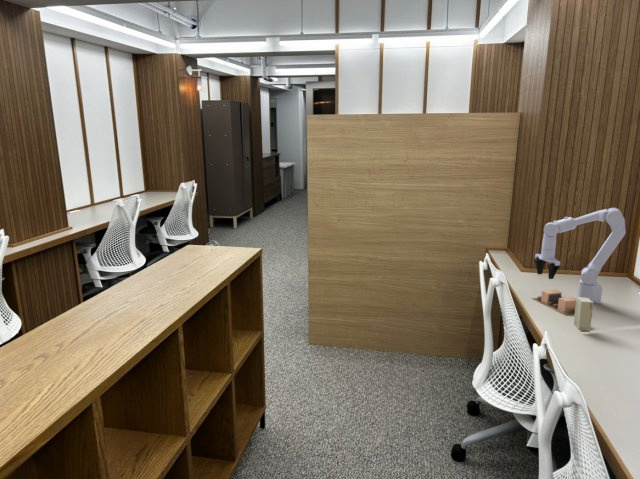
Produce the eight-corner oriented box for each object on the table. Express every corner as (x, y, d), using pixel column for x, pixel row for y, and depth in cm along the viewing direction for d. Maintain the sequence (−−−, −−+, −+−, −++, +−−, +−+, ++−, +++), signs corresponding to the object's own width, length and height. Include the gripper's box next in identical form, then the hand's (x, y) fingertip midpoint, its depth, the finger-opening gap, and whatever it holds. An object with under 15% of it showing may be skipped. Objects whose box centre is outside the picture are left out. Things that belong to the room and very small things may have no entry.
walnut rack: (555, 298, 220) (555, 293, 219) (592, 315, 199) (592, 310, 198) (530, 300, 217) (531, 295, 216) (566, 318, 196) (566, 312, 195)
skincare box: (590, 332, 181) (594, 302, 179) (577, 331, 182) (581, 301, 179) (584, 326, 187) (588, 297, 185) (572, 325, 188) (576, 296, 186)
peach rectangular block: (540, 301, 213) (542, 290, 212) (553, 300, 214) (555, 289, 213) (548, 304, 208) (549, 294, 207) (561, 303, 210) (562, 292, 209)
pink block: (570, 307, 205) (571, 296, 204) (578, 311, 201) (579, 300, 200) (556, 308, 204) (557, 297, 203) (564, 312, 199) (565, 301, 198)
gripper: (530, 245, 225) (527, 272, 228) (552, 252, 211) (548, 281, 214) (543, 244, 226) (540, 271, 229) (565, 251, 213) (561, 280, 216)
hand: (545, 276), depth 222 cm, fingers open, 7 cm apart
